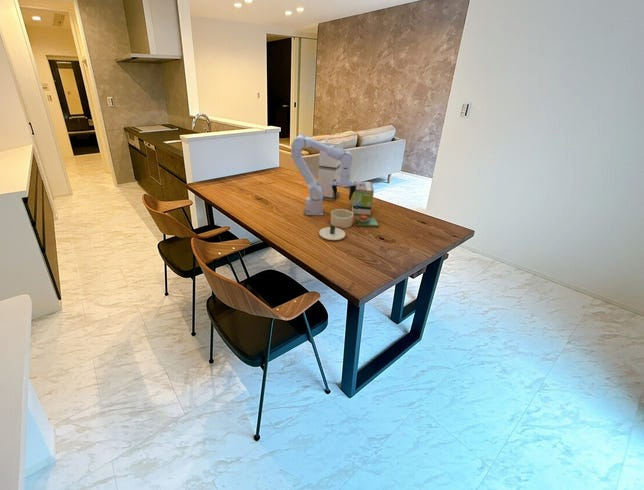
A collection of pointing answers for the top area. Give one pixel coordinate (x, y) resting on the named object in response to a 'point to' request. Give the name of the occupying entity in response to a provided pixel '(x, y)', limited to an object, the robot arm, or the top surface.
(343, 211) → the tin
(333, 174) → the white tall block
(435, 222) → the top surface
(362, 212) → the tea box
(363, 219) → the button
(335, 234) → the tin lid
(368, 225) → the release base
